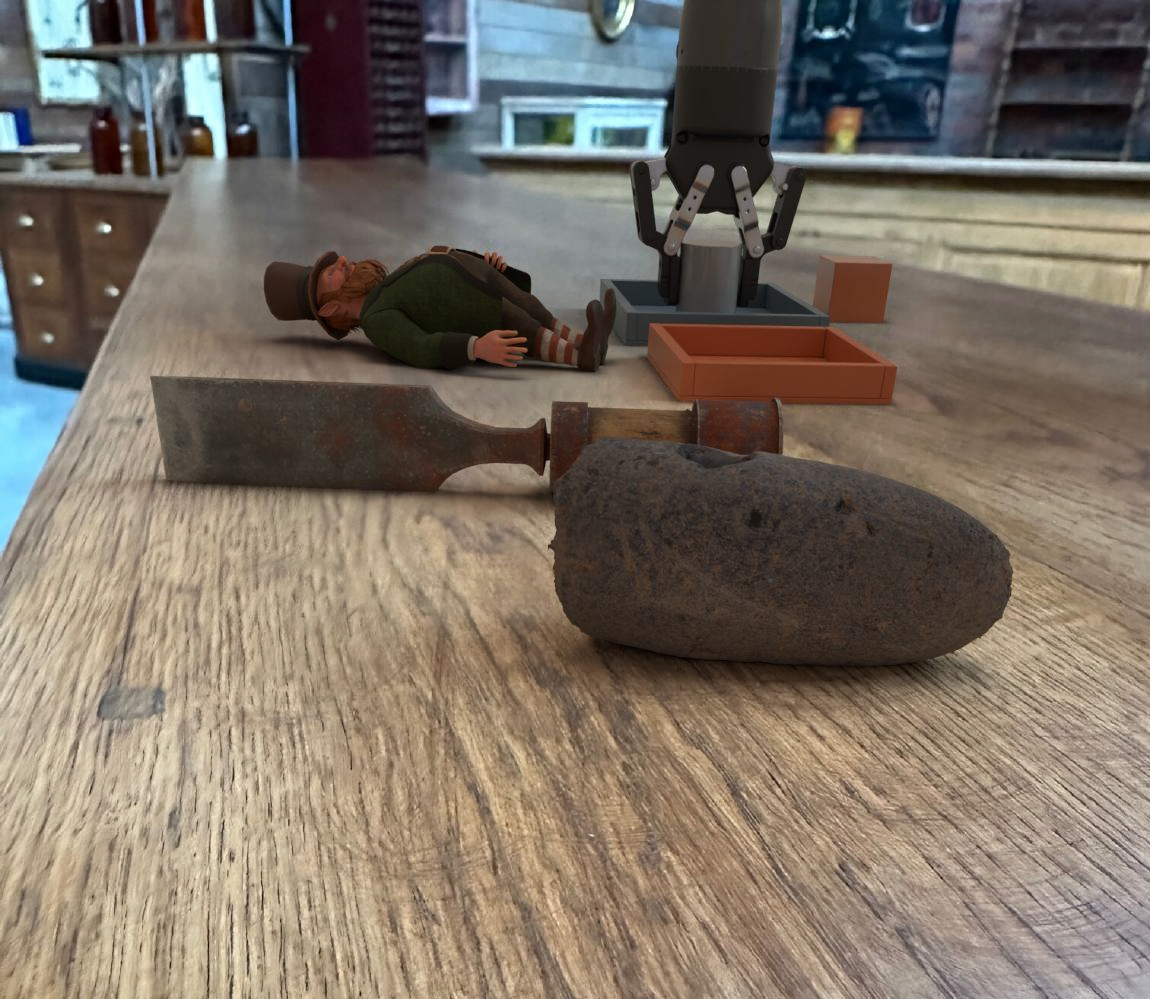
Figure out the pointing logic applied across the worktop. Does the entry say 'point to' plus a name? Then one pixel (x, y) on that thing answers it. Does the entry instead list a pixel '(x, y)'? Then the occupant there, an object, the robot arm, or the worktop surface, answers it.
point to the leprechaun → (438, 309)
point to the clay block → (852, 288)
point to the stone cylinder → (708, 276)
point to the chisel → (404, 433)
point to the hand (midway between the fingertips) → (706, 304)
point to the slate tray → (646, 306)
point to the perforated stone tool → (768, 558)
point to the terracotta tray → (768, 364)
